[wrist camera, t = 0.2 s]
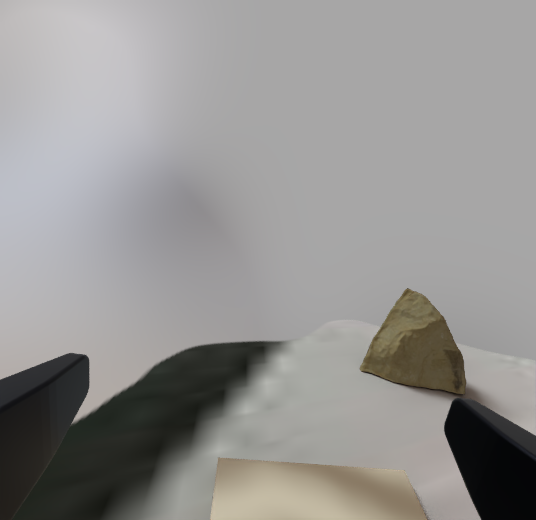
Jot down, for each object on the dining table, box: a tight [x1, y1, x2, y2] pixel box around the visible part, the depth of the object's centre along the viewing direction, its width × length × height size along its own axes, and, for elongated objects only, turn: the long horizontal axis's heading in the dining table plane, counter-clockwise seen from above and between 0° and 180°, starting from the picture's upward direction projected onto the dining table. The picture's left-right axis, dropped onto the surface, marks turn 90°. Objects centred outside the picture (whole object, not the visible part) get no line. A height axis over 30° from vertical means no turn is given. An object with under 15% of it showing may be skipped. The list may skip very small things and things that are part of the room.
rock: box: [360, 288, 466, 394], centre depth 36 cm, size 11×9×10 cm
